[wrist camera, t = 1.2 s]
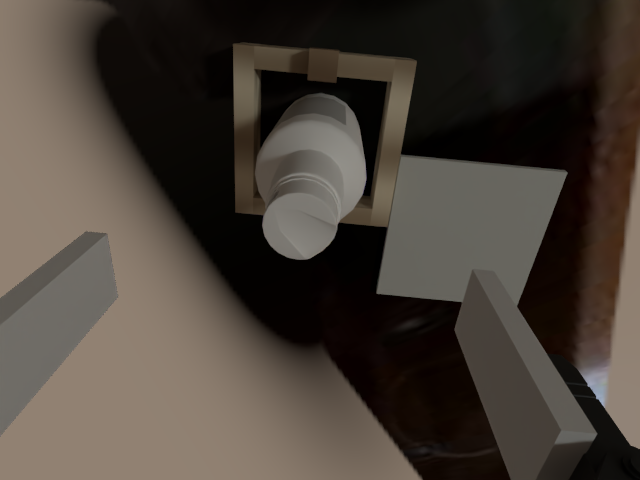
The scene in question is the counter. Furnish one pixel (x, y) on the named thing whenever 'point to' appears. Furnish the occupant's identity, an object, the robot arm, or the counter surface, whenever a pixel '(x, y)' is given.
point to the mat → (464, 225)
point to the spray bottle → (310, 174)
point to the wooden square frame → (324, 69)
